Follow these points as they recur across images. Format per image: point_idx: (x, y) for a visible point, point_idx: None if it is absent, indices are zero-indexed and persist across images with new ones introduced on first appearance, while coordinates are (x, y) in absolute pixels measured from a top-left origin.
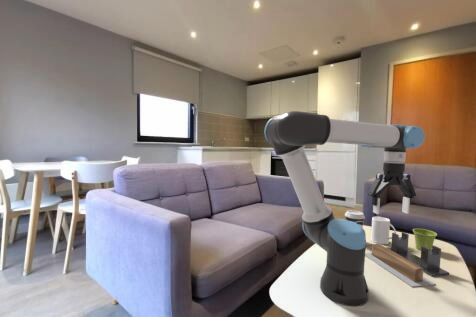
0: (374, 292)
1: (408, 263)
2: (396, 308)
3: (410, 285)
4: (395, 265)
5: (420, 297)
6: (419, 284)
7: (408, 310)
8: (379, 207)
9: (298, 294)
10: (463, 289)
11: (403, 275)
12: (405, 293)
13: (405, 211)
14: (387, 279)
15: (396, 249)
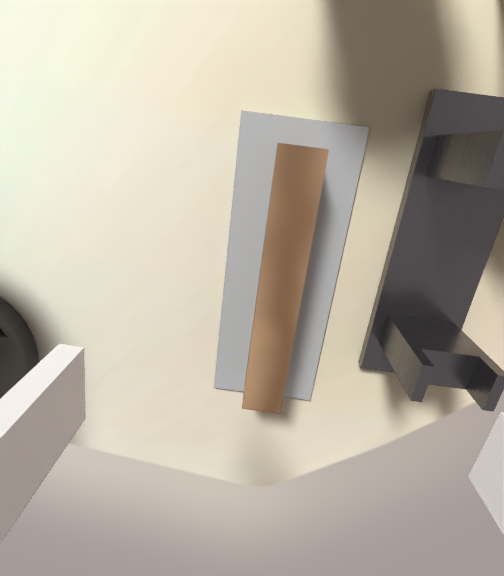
0: None
1: (259, 372)
2: (80, 434)
3: (214, 382)
4: (255, 305)
5: (190, 423)
6: None
7: (106, 446)
8: (34, 492)
9: None
10: (371, 433)
11: (249, 335)
12: (162, 400)
13: (492, 473)
14: (170, 331)
15: (434, 177)
